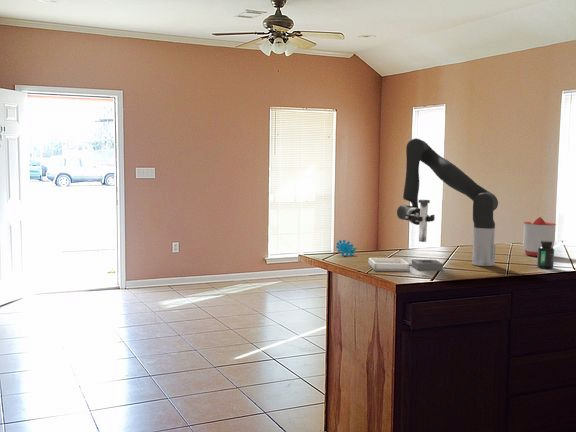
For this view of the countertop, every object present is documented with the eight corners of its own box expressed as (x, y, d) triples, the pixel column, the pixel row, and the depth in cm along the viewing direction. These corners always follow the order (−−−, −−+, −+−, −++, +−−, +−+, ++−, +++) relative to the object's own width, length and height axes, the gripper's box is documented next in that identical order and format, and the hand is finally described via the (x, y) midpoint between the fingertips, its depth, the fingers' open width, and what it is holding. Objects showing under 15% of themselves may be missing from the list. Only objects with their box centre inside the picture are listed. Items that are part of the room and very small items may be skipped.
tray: (401, 264, 279) (401, 258, 279) (409, 271, 262) (409, 264, 262) (368, 264, 279) (368, 257, 279) (374, 270, 262) (374, 263, 262)
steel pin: (426, 240, 273) (428, 199, 271) (429, 242, 268) (431, 200, 266) (415, 240, 273) (417, 199, 271) (418, 242, 268) (420, 200, 266)
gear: (338, 253, 299) (335, 237, 305) (334, 260, 303) (331, 244, 310) (359, 256, 302) (356, 240, 308) (354, 263, 306) (351, 247, 313)
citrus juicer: (547, 253, 328) (549, 216, 326) (558, 258, 311) (560, 218, 309) (517, 252, 330) (519, 215, 328) (526, 257, 312) (528, 217, 311)
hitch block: (435, 266, 277) (436, 259, 276) (442, 270, 266) (442, 263, 266) (411, 266, 276) (411, 259, 276) (417, 270, 265) (417, 263, 265)
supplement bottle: (543, 269, 276) (545, 242, 275) (533, 266, 282) (535, 240, 281) (556, 268, 278) (558, 242, 277) (546, 266, 284) (547, 240, 283)
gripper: (400, 207, 283) (409, 210, 266) (431, 208, 284) (441, 210, 266) (400, 223, 284) (408, 227, 267) (430, 224, 284) (440, 228, 267)
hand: (425, 219), depth 267 cm, fingers closed on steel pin, 3 cm apart
